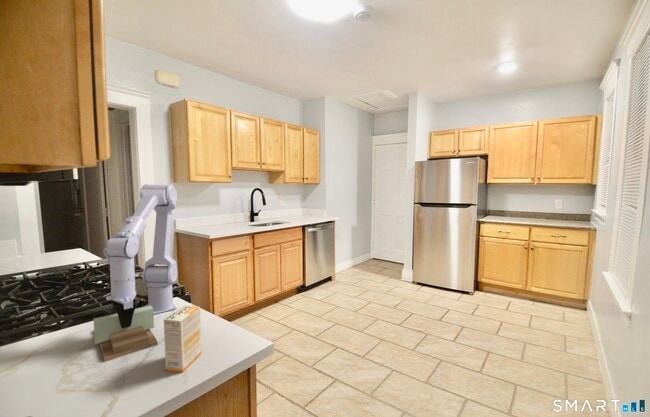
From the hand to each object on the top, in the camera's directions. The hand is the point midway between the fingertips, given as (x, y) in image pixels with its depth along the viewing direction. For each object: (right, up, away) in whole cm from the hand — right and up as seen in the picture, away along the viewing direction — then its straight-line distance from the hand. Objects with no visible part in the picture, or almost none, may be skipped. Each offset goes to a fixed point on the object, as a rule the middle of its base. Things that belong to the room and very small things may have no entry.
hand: (125, 324), depth 86 cm
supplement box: (+22, -6, -11) cm, 25 cm away
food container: (-10, -1, +29) cm, 31 cm away
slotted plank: (0, -4, 0) cm, 4 cm away
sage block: (0, -3, 0) cm, 3 cm away
